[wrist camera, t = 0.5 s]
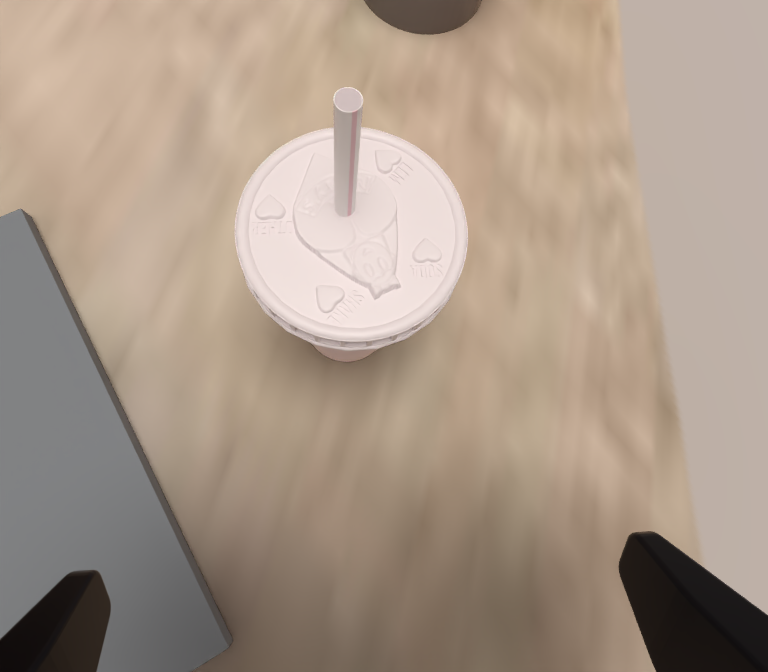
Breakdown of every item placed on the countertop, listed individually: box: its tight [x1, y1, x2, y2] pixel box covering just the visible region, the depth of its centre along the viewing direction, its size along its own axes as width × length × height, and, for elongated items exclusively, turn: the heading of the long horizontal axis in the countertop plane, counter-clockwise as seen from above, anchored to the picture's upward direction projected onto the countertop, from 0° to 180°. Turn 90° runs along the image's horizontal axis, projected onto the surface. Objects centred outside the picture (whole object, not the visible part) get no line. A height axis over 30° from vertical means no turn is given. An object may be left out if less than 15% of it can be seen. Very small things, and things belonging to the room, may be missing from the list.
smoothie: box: [235, 87, 468, 362], centre depth 16 cm, size 6×6×14 cm
